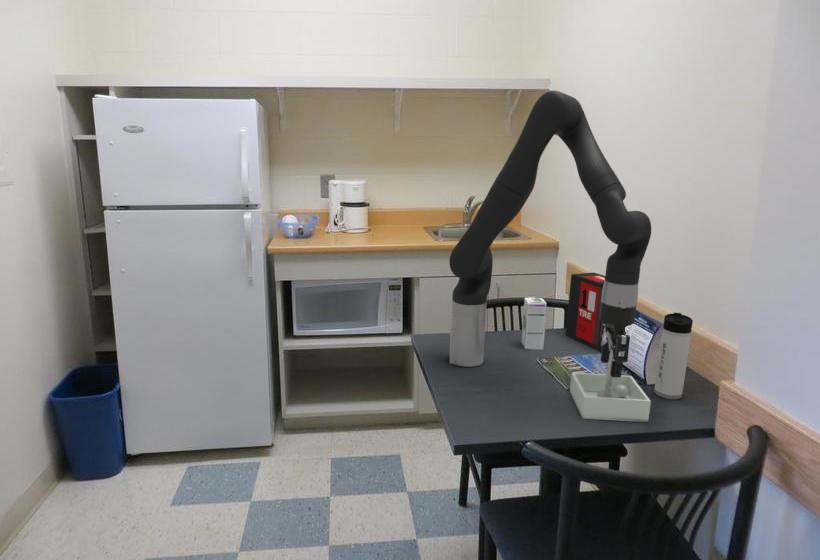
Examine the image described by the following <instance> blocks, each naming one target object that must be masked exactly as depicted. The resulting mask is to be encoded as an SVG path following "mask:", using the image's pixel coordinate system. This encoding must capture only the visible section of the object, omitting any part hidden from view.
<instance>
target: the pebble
mask: <svg viewBox="0 0 820 560" xmlns="http://www.w3.org/2000/svg"><path fill="white" fill-rule="evenodd" d="M615 393H616V394H617V395H618V396H619V397H621V398H623V397H625V396H627V394H628V389H627V387H626V386H624V385H618V386H617V387H616V388H615Z"/></svg>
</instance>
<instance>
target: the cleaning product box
mask: <svg viewBox="0 0 820 560" xmlns="http://www.w3.org/2000/svg"><path fill="white" fill-rule="evenodd" d="M604 281H605V275H603V274H601V273H596V272H584V273H582V272H581V273H572V274H571V275H570V283H569V285H570V286H569V297H568V306H567V317H566V326H565V337H568V338H570V339H572V340H574V341H576V342H578V343H580V344H582V345H585V346H586V347H589V348H591V349H593V350H595V351H597V352H600V353H602V347H603V346H601V342H602V341H600V333H601V326H602V321H601V320H600V319H599V314H600V306H601V297H602V289H603V285H604Z"/></svg>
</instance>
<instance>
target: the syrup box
mask: <svg viewBox="0 0 820 560" xmlns="http://www.w3.org/2000/svg"><path fill="white" fill-rule="evenodd" d="M523 301H524V302H523V313H522V314H523V317H522V330H521V333H522V334H521V345H522V346H523V348H524V349H525V350H535V351H536V350H537V351H538V350H539V351H540V350H541V351H543V350H544V346H545V345H544V344H545V329H546V318H547V316H546V315H547V302H546V301H545V300H544V298H542V297H537V296H535V297H534V296H533V297H532V296H531V297H530V296H529V297H524V300H523Z"/></svg>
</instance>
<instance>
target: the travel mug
mask: <svg viewBox="0 0 820 560" xmlns="http://www.w3.org/2000/svg"><path fill="white" fill-rule="evenodd" d="M693 322H694V320H693V318H691V317H690V316H688V315H685V314H682V312H673V313H668V314H665V315H664V318H663V325H662V332H661V340H660V347H659V353H658V354H659V355H658V361H657V362H658V363H657V369H656V374H655V375H656V376H655V383H654V389H653V392H654V394H655V395H657V396H658V397H660V398H663V399H666V400H679V399H681V398H682V397H683V389H684V384H685V377H686V371H687V365H688V359H689V350H690V345H691V344H690V343H691V337H692V330H693V329H692V328H693Z"/></svg>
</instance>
